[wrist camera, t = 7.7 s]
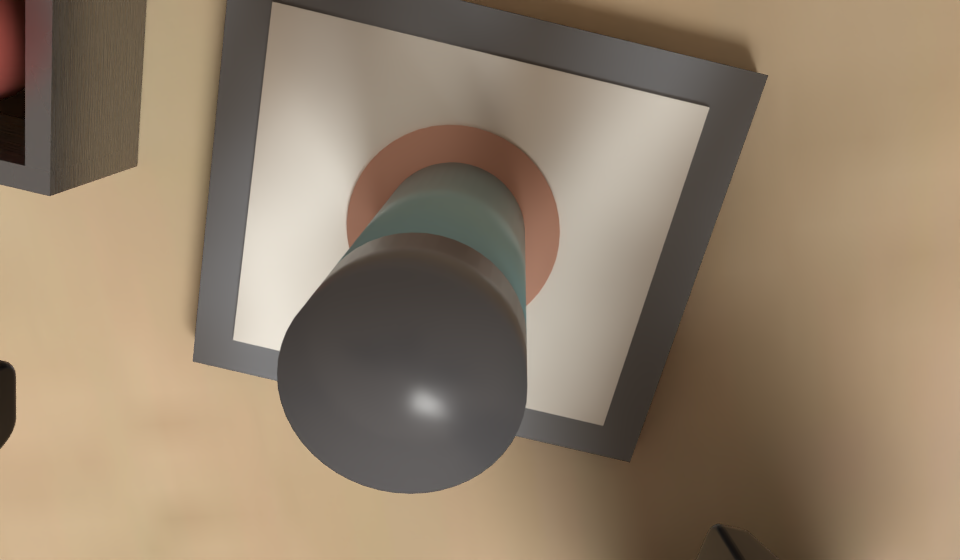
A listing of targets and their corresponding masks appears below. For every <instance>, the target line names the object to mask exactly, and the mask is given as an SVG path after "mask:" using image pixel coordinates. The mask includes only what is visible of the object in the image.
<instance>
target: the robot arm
mask: <svg viewBox="0 0 960 560" xmlns="http://www.w3.org/2000/svg"><path fill="white" fill-rule="evenodd" d="M15 422H16V373H15V370H14V367H13V366H12V365H11V364H10V363H9V362H6V361H1V360H0V449H1V447H2V446H3V445H4V444H5V443H6V441H7V440H8V438H9V437H10V435H11V433H12V431H13V429H14V426H15ZM696 560H779V559H778V558H777V557H776V556H775V555H774V554H773V553H772V552H770V551H769V550H768V549H767V548H766V547H765V546H764V545H763V544H762V543H760V542H759V541H758V540H757V539H756V538H755V537H754V536H753V535H752V534H751V533H749V532H748V531H746V530H744V529H741V528H736V527H732V526H727V525H723V524H716V525H714V526H712V527H711V528H710V530H709V531H708V533H707V535H706V538H705V540H704V542H703V545H702V547H701V549H700V552H699V554H698V557H697V559H696Z"/></svg>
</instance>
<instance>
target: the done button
mask: <svg viewBox="0 0 960 560" xmlns="http://www.w3.org/2000/svg"><path fill="white" fill-rule="evenodd" d="M24 88H25V0H0V100H3V99H6V98H9V97H11V96H13V95H15V94H17V93H18V92H20V91H21V90H23V89H24Z"/></svg>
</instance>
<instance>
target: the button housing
mask: <svg viewBox="0 0 960 560" xmlns="http://www.w3.org/2000/svg"><path fill="white" fill-rule="evenodd" d="M145 17H146V0H25V119H22V118H18V117H13V116H9V115H5V114H1V113H0V184H1V185H5V186H9V187H13V188H18V189H22V190H26V191H30V192H35V193H39V194H43V195H47V196H51V195H54V194H57V193H60V192H63V191H66V190H69V189H72V188H75V187H78V186H80V185H83V184H86V183H89V182H92V181H95V180H98V179H101V178H104V177H107V176H109V175H112V174H115V173H118V172H121V171H124V170H127V169H130V168H133V167H136V166H137V155H138V138H139V121H140V103H141V86H142V69H143V51H144V34H145Z"/></svg>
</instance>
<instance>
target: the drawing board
mask: <svg viewBox="0 0 960 560" xmlns="http://www.w3.org/2000/svg"><path fill="white" fill-rule="evenodd" d="M767 77H768V75H765V74H761V73H756V72H752V71H748V70H744V69H740V68H736V67H732V66H728V65H724V64H720V63H715V62H711V61H707V60H703V59H699V58H695V57H691V56H687V55H683V54H679V53H674V52H670V51H666V50H662V49H658V48H654V47H650V46H646V45H642V44H638V43H633V42H629V41H625V40H621V39H617V38H613V37H609V36H605V35H601V34H597V33H592V32H588V31H584V30H580V29H576V28H572V27H568V26H564V25H560V24H556V23H551V22H547V21H543V20H539V19H535V18H531V17H527V16H523V15H519V14H515V13H510V12H506V11H502V10H498V9H494V8H490V7H486V6H482V5H478V4H474V3H469V2H465V1H461V0H227V7H226V17H225V28H224V38H223V49H222V59H221V70H220V80H219V91H218V101H217V112H216V122H215V133H214V143H213V154H212V164H211V175H210V185H209V196H208V206H207V217H206V227H205V238H204V248H203V259H202V269H201V280H200V290H199V301H198V312H197V322H196V333H195V343H194V354H193V362H198V363H202V364H206V365H211V366H215V367H219V368H224V369H228V370H232V371H237V372H241V373H245V374H250V375H254V376H258V377H263V378H267V379H271V380H276V381H277V366H278V357H279V352H280V348H281V344H282V341H283V339H284V336H285V334H286V331H287V329H288V328H289V326H290V324H291V322H292V321H293V319H294V317H295V316H296V315H297V314H298V312H299V311H300V310H301V309H302V307H303V306H304V305H305V304H306V302H307V301H308V300H309V298H310V297H311V296H312V295H313V293H314V292H315V291H316V290H317V288H318V287H319V286H320V285H321V283H322V282H323V281H324V280H325V278H326V277H327V276H328V275H329V273H330V272H331V271H332V270H333V268H334V267H335V266H336V265H337V263H338V262H339V261H340V260H341V258H342V257H343V256H344V254H345V253H346V252H347V251H348V249H349V248H350V247H351V246H352V244H353V243H354V242H355V241H356V239H357V238H358V237H359V236H360V234H361V233H362V232H363V231H364V229H365V228H366V227H367V226H368V224H369V223H370V222H371V221H372V219H373V218H374V217H375V216H376V214H377V213H378V212H379V210H380V209H381V208H382V207H383V205H384V204H385V203H386V202H387V200H388V199H389V198H390V197H391V195H392V194H393V193H394V192H395V190H396V189H397V188H398V187H399V185H400V184H401V183H402V182H403V181H404V180H405V179H407V178H408V177H409V176H411V175H412V174H413V173H415V172H417V171H419V170H421V169H423V168H425V167H428V166H431V165H435V164H439V163H448V162H455V163H464V164H470V165H473V166H476V167H479V168H481V169H483V170H486V171H488V172H489V173H491V174H492V175H494V176H495V177H497V178H498V179H499V180H500V181H502V182H503V183H504V184H505V185H506V187H507V188H508V189H509V190H510V191H511V193H512V194H513V195H514V197H515V199H516V201H517V202H518V204H519V207H520V209H521V212H522V215H523V220H524V226H525V265H526V329H527V402H526V407H525V412H524V417H523V419H522V422H521V425H520V427H519V430H518V432H517V434H516V435H515V436H518V437H523V438H527V439H531V440H536V441H540V442H544V443H549V444H553V445H557V446H562V447H566V448H570V449H575V450H579V451H583V452H588V453H592V454H596V455H601V456H605V457H610V458H614V459H618V460H623V461H627V462H630V461H631V458H632V455H633V452H634V449H635V447H636V444H637V441H638V438H639V435H640V433H641V430H642V427H643V424H644V421H645V419H646V416H647V413H648V410H649V407H650V405H651V402H652V399H653V396H654V393H655V391H656V388H657V385H658V382H659V379H660V377H661V374H662V371H663V368H664V365H665V363H666V360H667V357H668V354H669V352H670V349H671V346H672V343H673V340H674V338H675V335H676V332H677V329H678V326H679V324H680V321H681V318H682V315H683V312H684V310H685V307H686V304H687V301H688V298H689V296H690V293H691V290H692V287H693V284H694V282H695V279H696V276H697V273H698V270H699V268H700V265H701V262H702V259H703V256H704V254H705V251H706V248H707V245H708V242H709V240H710V237H711V234H712V231H713V228H714V226H715V223H716V220H717V217H718V214H719V212H720V209H721V206H722V203H723V200H724V198H725V195H726V192H727V189H728V186H729V184H730V181H731V178H732V175H733V172H734V170H735V167H736V164H737V161H738V159H739V156H740V153H741V150H742V147H743V145H744V142H745V139H746V136H747V133H748V131H749V128H750V125H751V122H752V119H753V117H754V114H755V111H756V108H757V105H758V103H759V100H760V97H761V94H762V91H763V89H764V86H765V83H766V80H767Z"/></svg>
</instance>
